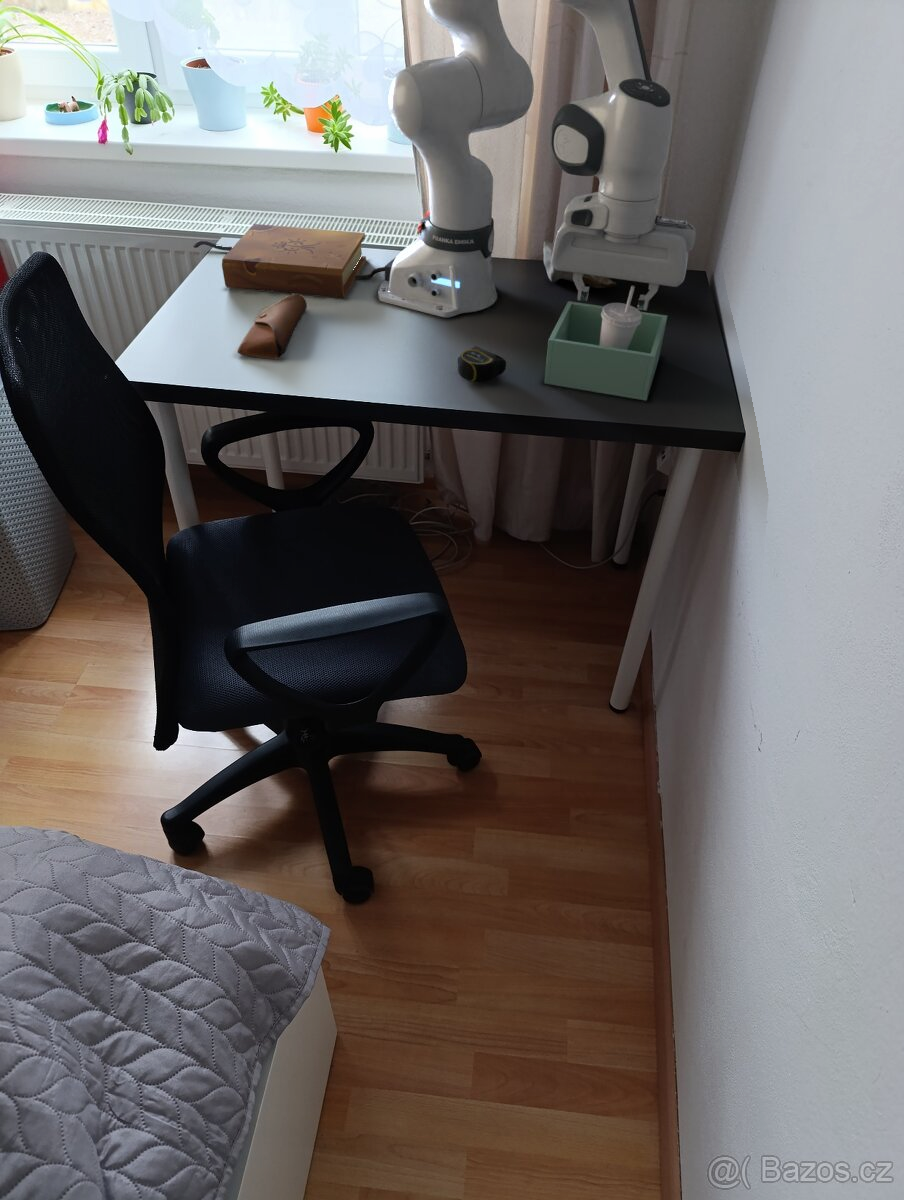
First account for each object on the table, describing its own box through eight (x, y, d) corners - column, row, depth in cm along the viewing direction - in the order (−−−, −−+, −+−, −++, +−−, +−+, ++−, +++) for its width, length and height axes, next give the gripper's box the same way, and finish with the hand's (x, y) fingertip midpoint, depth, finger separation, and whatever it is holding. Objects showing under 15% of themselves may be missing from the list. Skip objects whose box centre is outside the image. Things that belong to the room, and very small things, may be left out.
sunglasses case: (261, 307, 153) (275, 277, 148) (296, 327, 155) (311, 298, 151) (235, 354, 140) (249, 323, 136) (273, 375, 142) (288, 345, 138)
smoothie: (625, 380, 135) (649, 298, 125) (586, 372, 136) (607, 290, 125) (628, 361, 140) (651, 280, 129) (590, 353, 140) (610, 272, 130)
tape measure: (507, 377, 136) (509, 355, 134) (479, 392, 133) (480, 370, 130) (477, 362, 140) (477, 341, 137) (448, 376, 136) (448, 355, 134)
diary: (226, 290, 159) (220, 260, 155) (257, 252, 172) (253, 223, 168) (343, 300, 156) (340, 269, 152) (366, 260, 170) (364, 231, 166)
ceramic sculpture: (547, 222, 161) (624, 233, 160) (541, 266, 168) (615, 276, 167) (542, 244, 154) (623, 255, 153) (536, 289, 160) (613, 300, 159)
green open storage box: (544, 383, 135) (548, 339, 130) (563, 343, 145) (568, 301, 140) (646, 400, 131) (655, 356, 126) (659, 358, 141) (667, 315, 136)
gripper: (701, 213, 121) (681, 305, 130) (563, 196, 125) (554, 286, 135) (696, 229, 116) (676, 322, 126) (553, 211, 121) (545, 303, 130)
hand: (612, 304), depth 130 cm, fingers open, 8 cm apart
